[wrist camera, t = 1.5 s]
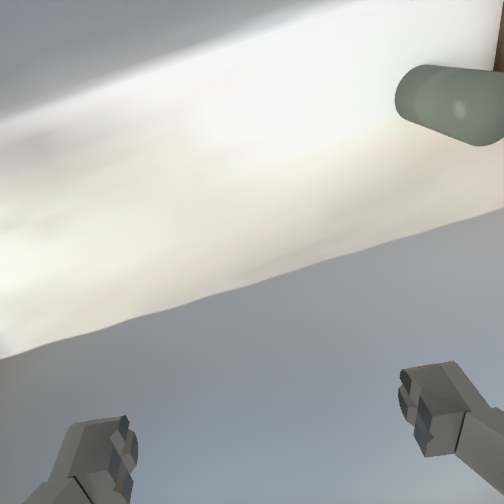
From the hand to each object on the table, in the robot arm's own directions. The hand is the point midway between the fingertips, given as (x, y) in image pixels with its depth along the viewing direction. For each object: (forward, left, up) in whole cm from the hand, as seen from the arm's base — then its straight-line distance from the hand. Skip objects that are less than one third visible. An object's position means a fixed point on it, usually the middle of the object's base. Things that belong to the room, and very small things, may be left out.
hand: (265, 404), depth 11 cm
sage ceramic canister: (-2, +20, -29) cm, 35 cm away
